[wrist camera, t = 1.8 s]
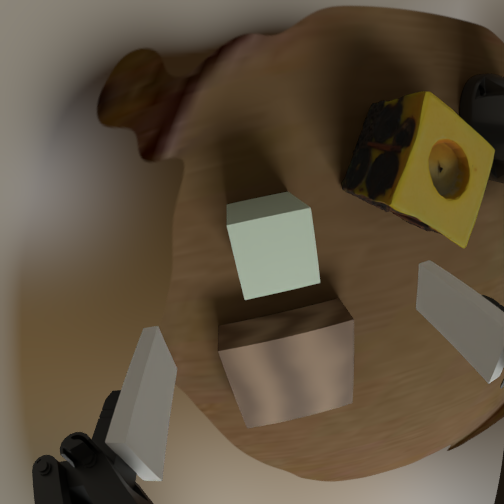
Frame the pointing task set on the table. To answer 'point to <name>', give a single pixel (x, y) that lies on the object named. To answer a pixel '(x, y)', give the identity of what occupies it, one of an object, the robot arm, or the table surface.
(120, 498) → the robot arm
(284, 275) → the sage block
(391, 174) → the candle
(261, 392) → the walnut block
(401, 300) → the table surface
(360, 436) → the table surface
